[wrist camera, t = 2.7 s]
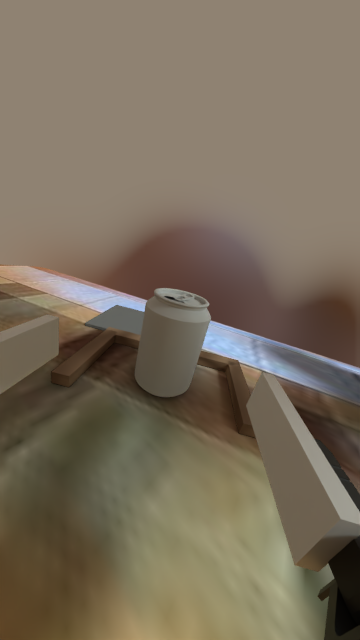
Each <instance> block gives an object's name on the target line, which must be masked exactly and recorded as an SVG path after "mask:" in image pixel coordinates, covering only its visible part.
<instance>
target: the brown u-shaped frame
mask: <svg viewBox="0 0 360 640" xmlns="http://www.w3.org/2000/svg"><path fill="white" fill-rule="evenodd" d="M140 336H141V335H138V334H135V333H131V332H127V331H123V330H119V329H115V328H112V327H109V328H107V329H106V330H105V331H103V332H102V333H101V334H100V335H98V336H97V337H96V338H94V339H93V340H92V341H90V342H89V343H88V344H86V345H85V346H84V347H83V348H81V349H80V350H79V351H77V352H76V353H75V354H73V355H72V356H71V357H70V358H68V359H67V360H66V361H64V362H63V363H62V364H60V365H59V366H58V367H57V368H55V369H54V370H53V371H51V379H52V383H55V384H59V385H62V386H66V387H70V386H71V385H72V384H73V383H74V382H75V381H76V380H77V379H78V378H79V377H80V376H81V375H82V374H83V373H84V372H85V371H86V370H87V369H88V368H89V367H90V366H91V365H92V364H93V363H94V362H95V361H96V360H97V359H98V358H99V357H100V356H101V355H102V354H103V353H104V352H105V351H106V350H107V349H108V348H109V347H110V346H111V345H112V344H113V343H114V342H115V343H118V344H122V345H126V346H130V347H134V348H139V342H140ZM197 364H199V365H202V366H206V367H210V368H214V369H218V370H221V371H225V372H226V376H227V381H228V385H229V390H230V395H231V399H232V404H233V409H234V414H235V418H236V423H237V428H238V433H239V434H243V435H247V436H250V437H254V438H256V436H255V433H254V430H253V427H252V423H251V420H250V417H249V414H248V410H247V407H246V405H247V403H248V400H249V398H250V396H251V395H250V392H249V389H248V386H247V384H246V381H245V378H244V375H243V372H242V370H241V367H240V364H239V361H238V360H235V359H231V358H227V357H223V356H219V355H215V354H211V353H208V352H204V351H201V352H200V355H199V358H198V362H197Z"/></svg>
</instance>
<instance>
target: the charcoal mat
mask: <svg viewBox="0 0 360 640" xmlns="http://www.w3.org/2000/svg"><path fill="white" fill-rule="evenodd" d="M143 318H144V312H142V311H138V310H134V309H130V308H126V307H122V306H119V305H116V306H114V307H112V308H110V309H109V310H107V311H105V312H104V313H102V314H100V315H98V316H97V317H95V318H93V319H91V320H90V321H88V322H86V323H85V326H89V327H93V328H97V329H100V330H104V331H105V330H106V329H107V328H109V327H112V328H115V329H119V330H123V331H127V332H131V333H135V334H138V335H141V330H142V324H143Z"/></svg>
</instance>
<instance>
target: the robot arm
mask: <svg viewBox="0 0 360 640" xmlns="http://www.w3.org/2000/svg"><path fill="white" fill-rule="evenodd" d="M57 355H59V317H55V316H51V315H48V314H47V315H44V316H42V317H39V318H36V319H34V320H31V321H28V322H25V323H23V324H20V325H17V326H15V327H12V328H9V329H7V330H4V331H1V332H0V394H1V393H3V392H4V391H6V390H7V389H9V388H10V387H12V386H13V385H15V384H16V383H18V382H19V381H20V380H22V379H23V378H25V377H26V376H28V375H29V374H31V373H32V372H34V371H35V370H37V369H38V368H40V367H41V366H42V365H44V364H45V363H47V362H48V361H50V360H51V359H53V358H54V357H56V356H57ZM246 407H247V410H248V414H249V417H250V420H251V423H252V427H253V430H254V433H255V436H256V440H257V443H258V446H259V450H260V453H261V456H262V459H263V463H264V466H265V469H266V472H267V476H268V479H269V482H270V486H271V489H272V492H273V495H274V499H275V502H276V505H277V508H278V512H279V515H280V518H281V522H282V525H283V528H284V531H285V535H286V538H287V541H288V544H289V548H290V551H291V554H292V558H293V561H294V564H295V565H296V566H300V567H303V568H307V569H310V570H314V571H317V572H319V571H320V570H321V569H322V568H323V567H324V566H326V565H327V564H328V563H329V566H330V568H331V570H332V573H333V575H334V578H335V579H333V580H332V581H331V582H330V583H328V584H327V585H326V586H325V587H323V588H322V589H321V590H320V592H319V594H318V597H319V599H320V600H321V601H323V600H324V599H325V598H327V597H328V596H329V601H328V610H327V619H326V628H325V637H324V640H360V494H359V493H358V491H357V490H356V488H355V487H354V485H353V484H352V483H351V482H350V481H349V480H350V479H349V478H348V476H347V475H346V473H345V472H344V470H342V469H341V466H340V464H339V463H338V461H337V460H336V458H335V457H334V455H333V454H332V453H331V452H330V451H329V450H328V448H327V447H326V446H325V445H324V444H323V443H322V442H321V441H320V440H317V439H314V438H313V436H312V435H311V433H310V432H309V430H308V428H307V427H306V425H305V424H304V422H303V420H302V419H301V417H300V416H299V414H298V412H297V411H296V409H295V408H294V406H293V404H292V403H291V401H290V400H289V398H288V396H287V395H286V393H285V392H284V390H283V388H282V387H281V385H280V384H279V382H278V380H277V379H276V377H275V376H274V375H272V374H268V373H264V372H262V373H261V375H260V377H259V380H258V382H257V384H256V386H255V388H254V390H253V392H252V394H251V396H250V398H249V400H248V403H247V405H246Z"/></svg>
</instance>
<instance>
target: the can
mask: <svg viewBox="0 0 360 640" xmlns="http://www.w3.org/2000/svg"><path fill="white" fill-rule="evenodd" d="M154 294H155V296H153V297H152V298H151V299H149V300H148V301H147V302H146V306H145V312H144V318H143V324H142V330H141V336H140V342H139V348H138V354H137V360H136V366H135V379H136V381H137V383H138V384H139V385H140V386H141V387H142V388H143V389H144V390H145V391H147V392H148V393H150V394H152V395H155V396H158V397H174V396H177V395H180V394H183V393H184V392H185V391H186V390H188V388H189V386H190V384H191V381H192V378H193V374H194V371H195V368H196V365H197V362H198V358H199V355H200V352H201V349H202V345H203V342H204V339H205V336H206V332H207V329H208V326H209V323H210V319H211V316H210V314H209V312H208V310H207V306H208V305H209V303H208V301H207V300H205V299H204V298H202V297H200V296H198V295H195V294H192V293H189V292H186V291H181V290H176V289H169V288H159V289H156V290H155V291H154Z"/></svg>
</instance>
